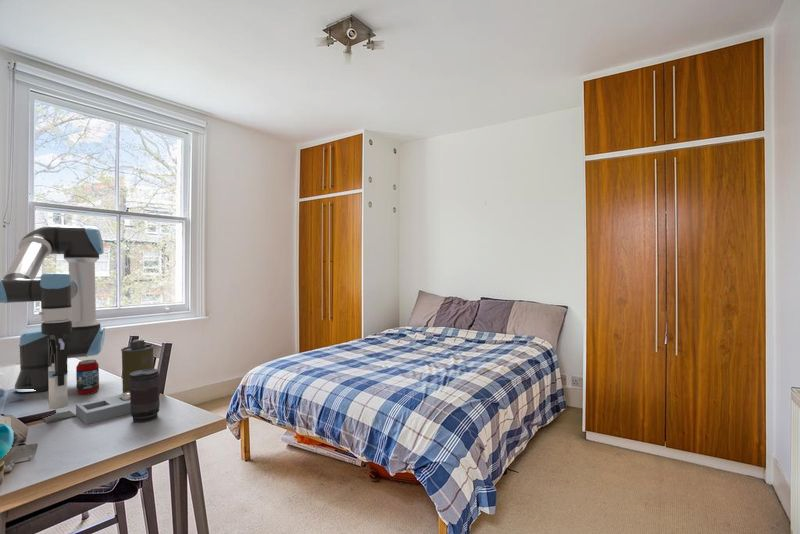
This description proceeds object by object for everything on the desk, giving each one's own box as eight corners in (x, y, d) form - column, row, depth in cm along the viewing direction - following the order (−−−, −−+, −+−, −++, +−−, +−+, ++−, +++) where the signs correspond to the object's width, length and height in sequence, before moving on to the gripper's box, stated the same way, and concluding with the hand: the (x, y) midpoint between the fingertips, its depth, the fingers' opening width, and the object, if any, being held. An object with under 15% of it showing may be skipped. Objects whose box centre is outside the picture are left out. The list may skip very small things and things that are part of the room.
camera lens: (132, 416, 131) (131, 369, 131) (161, 412, 134) (160, 367, 134) (127, 425, 123) (126, 376, 123) (157, 421, 127) (157, 373, 126)
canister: (138, 398, 148) (137, 343, 147) (114, 396, 150) (113, 342, 149) (161, 389, 158) (161, 338, 158) (139, 387, 160) (138, 337, 160)
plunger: (120, 405, 138) (120, 393, 138) (132, 402, 141) (132, 390, 141) (124, 407, 136) (124, 395, 136) (136, 404, 138) (136, 392, 138)
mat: (42, 418, 130) (42, 416, 130) (69, 411, 135) (69, 410, 135) (47, 423, 125) (47, 422, 125) (75, 416, 131) (75, 415, 131)
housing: (76, 415, 132) (75, 404, 132) (132, 401, 144) (132, 391, 144) (86, 424, 124) (86, 413, 124) (145, 409, 137) (144, 399, 137)
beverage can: (77, 396, 150) (76, 364, 150) (76, 392, 155) (75, 361, 155) (100, 392, 154) (99, 361, 154) (98, 388, 160) (97, 358, 159)
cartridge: (47, 407, 130) (46, 363, 129) (65, 403, 133) (65, 360, 133) (50, 410, 127) (49, 365, 127) (69, 406, 130) (68, 362, 130)
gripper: (35, 320, 132) (37, 391, 133) (47, 325, 121) (49, 402, 121) (64, 317, 138) (66, 385, 138) (79, 322, 127) (80, 396, 127)
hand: (58, 393), depth 130 cm, fingers closed on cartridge, 5 cm apart
